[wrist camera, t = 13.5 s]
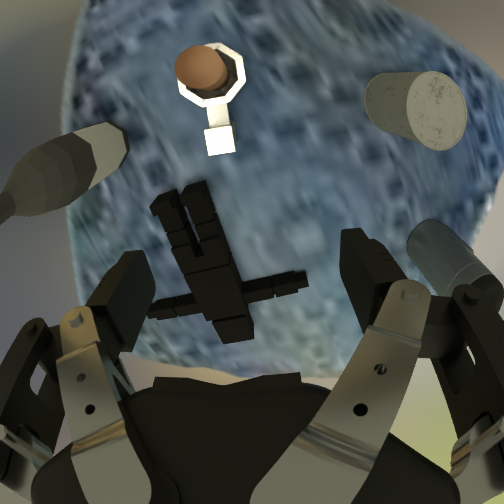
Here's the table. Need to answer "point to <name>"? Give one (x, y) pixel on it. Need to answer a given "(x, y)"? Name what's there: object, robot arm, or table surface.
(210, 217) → the toy
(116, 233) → the table surface
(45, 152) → the wine bottle
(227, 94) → the mug
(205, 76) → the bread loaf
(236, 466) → the robot arm
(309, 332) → the table surface
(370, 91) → the speckled stone cylinder
